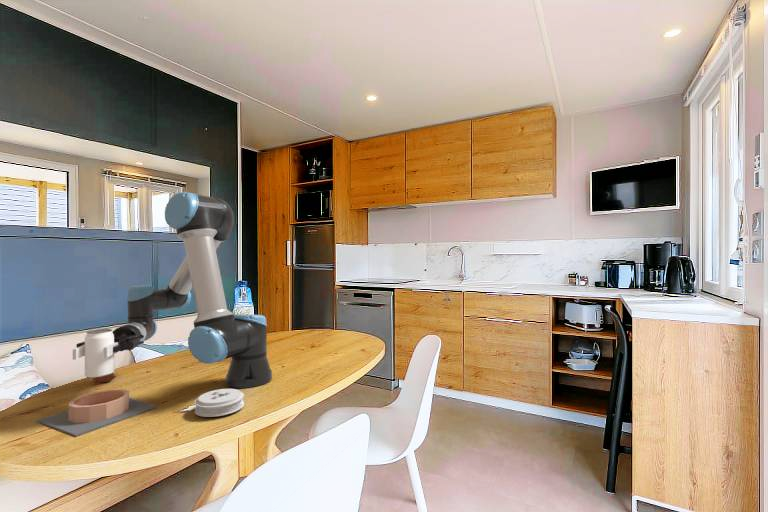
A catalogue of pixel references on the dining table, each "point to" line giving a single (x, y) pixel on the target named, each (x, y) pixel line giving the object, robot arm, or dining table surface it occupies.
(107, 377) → the fruit slice
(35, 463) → the dining table surface
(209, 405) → the lid
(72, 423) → the mat
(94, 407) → the bowl
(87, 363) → the can
